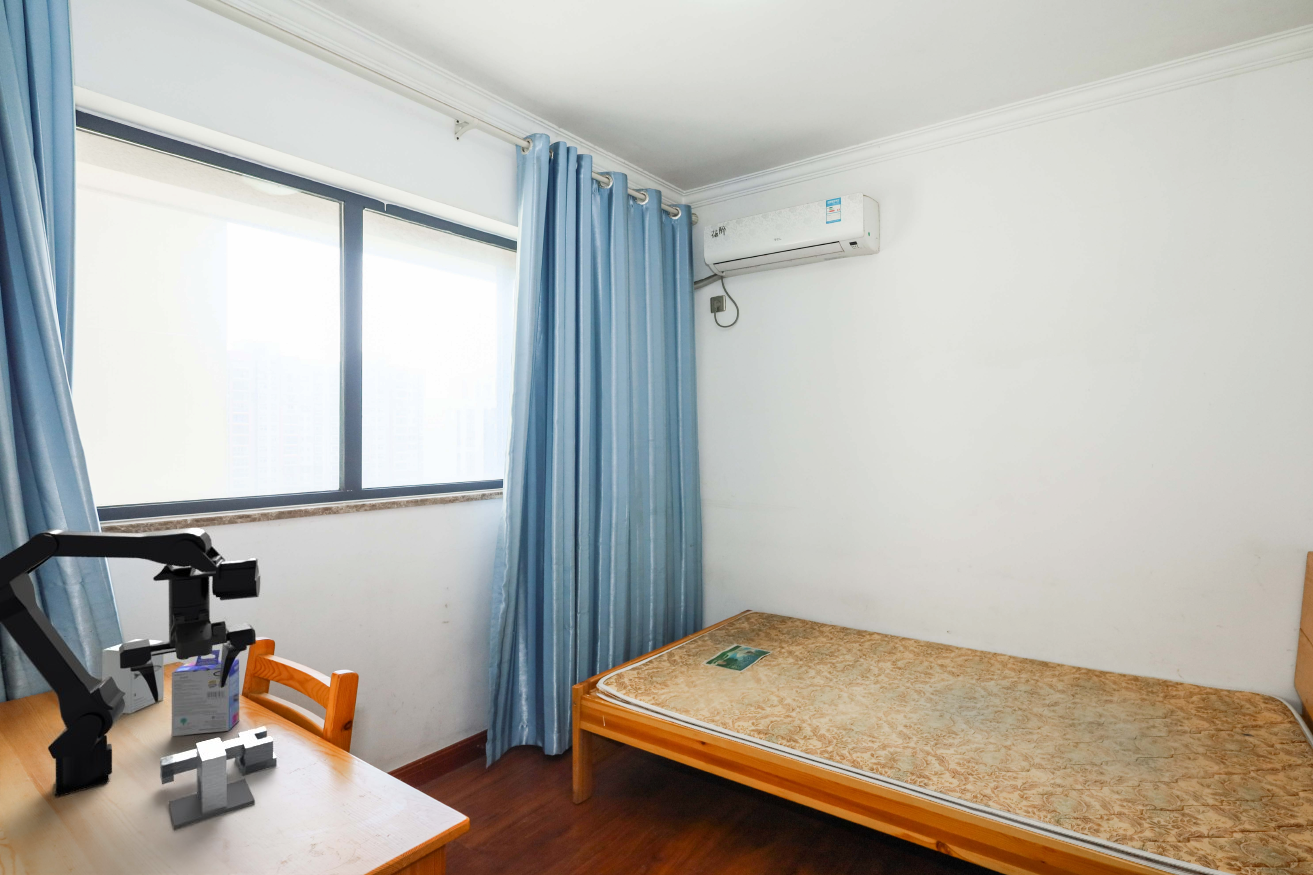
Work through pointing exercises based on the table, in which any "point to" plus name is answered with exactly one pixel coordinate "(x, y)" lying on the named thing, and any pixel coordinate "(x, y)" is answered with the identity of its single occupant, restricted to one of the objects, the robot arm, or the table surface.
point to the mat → (190, 812)
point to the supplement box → (133, 678)
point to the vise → (227, 755)
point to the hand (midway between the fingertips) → (190, 693)
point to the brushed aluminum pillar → (211, 775)
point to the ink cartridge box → (204, 697)
